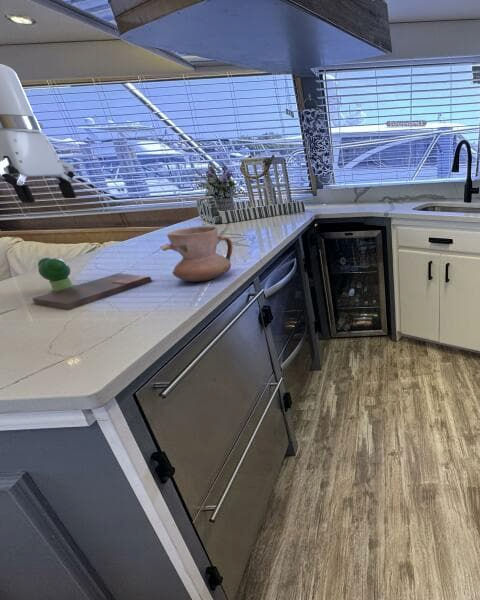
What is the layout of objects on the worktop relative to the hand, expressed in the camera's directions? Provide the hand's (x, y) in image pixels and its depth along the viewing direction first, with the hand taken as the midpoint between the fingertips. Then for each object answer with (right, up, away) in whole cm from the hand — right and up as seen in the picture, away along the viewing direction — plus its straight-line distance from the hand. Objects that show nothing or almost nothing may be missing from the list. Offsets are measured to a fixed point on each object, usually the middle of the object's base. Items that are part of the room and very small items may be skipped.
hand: (50, 200), depth 83 cm
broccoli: (-4, -23, +7) cm, 24 cm away
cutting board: (+9, -24, +4) cm, 26 cm away
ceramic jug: (+34, -19, +12) cm, 41 cm away
